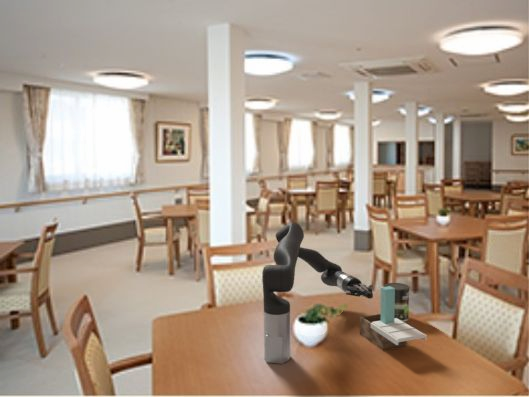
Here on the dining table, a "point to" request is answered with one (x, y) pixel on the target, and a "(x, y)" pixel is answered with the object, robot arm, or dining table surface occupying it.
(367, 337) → the tub
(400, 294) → the coffee can
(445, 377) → the dining table surface
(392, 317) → the lid
